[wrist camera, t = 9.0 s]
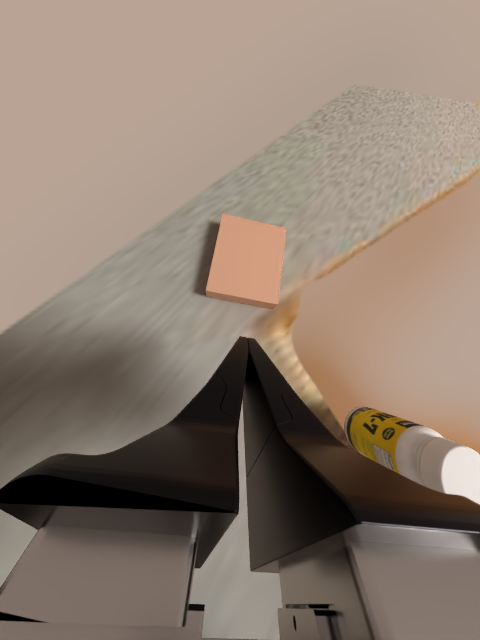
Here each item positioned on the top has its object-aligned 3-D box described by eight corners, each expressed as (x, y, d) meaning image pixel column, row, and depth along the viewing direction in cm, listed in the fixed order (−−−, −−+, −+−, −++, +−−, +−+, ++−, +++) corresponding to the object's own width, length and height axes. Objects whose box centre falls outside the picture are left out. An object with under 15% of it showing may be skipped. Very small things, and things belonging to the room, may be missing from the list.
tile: (277, 304, 19) (286, 228, 21) (205, 290, 18) (222, 213, 21) (271, 310, 21) (280, 240, 24) (207, 297, 21) (222, 227, 23)
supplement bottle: (370, 399, 20) (475, 427, 12) (389, 442, 19) (517, 504, 11) (335, 415, 19) (422, 458, 11) (354, 461, 18) (463, 545, 10)
